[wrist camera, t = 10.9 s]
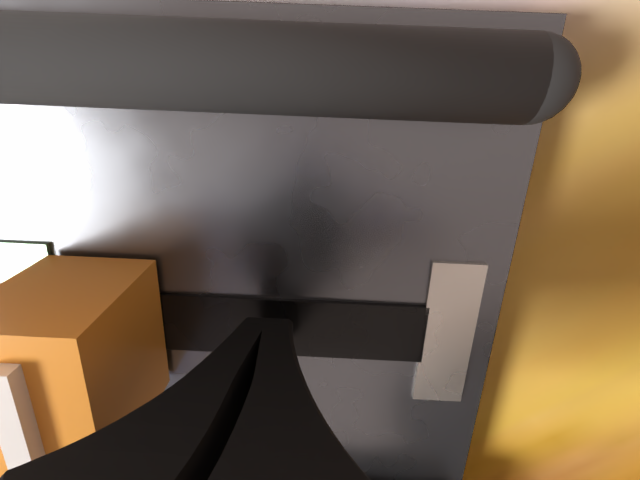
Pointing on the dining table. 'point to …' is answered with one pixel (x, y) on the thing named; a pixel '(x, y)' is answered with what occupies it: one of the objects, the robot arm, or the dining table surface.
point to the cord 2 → (285, 67)
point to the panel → (296, 232)
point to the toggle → (76, 350)
